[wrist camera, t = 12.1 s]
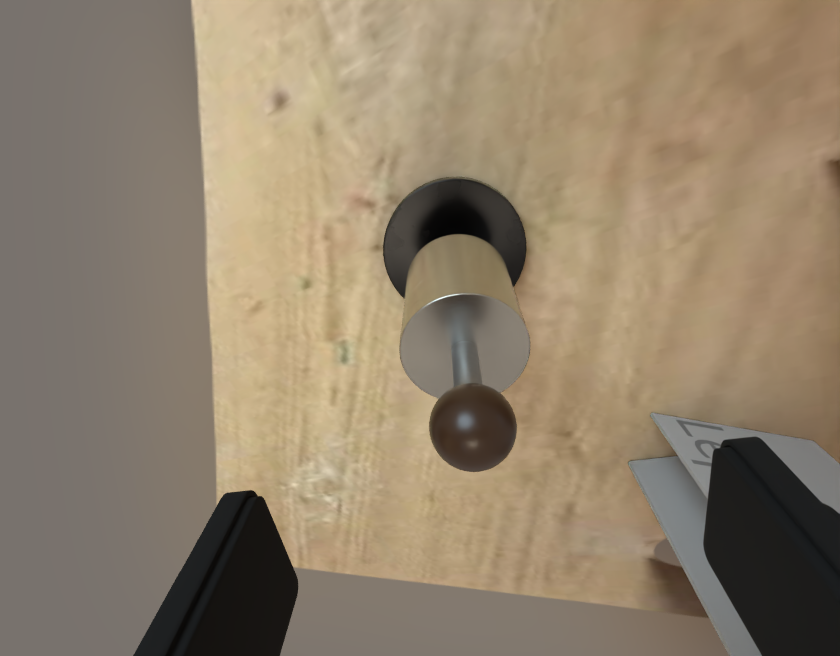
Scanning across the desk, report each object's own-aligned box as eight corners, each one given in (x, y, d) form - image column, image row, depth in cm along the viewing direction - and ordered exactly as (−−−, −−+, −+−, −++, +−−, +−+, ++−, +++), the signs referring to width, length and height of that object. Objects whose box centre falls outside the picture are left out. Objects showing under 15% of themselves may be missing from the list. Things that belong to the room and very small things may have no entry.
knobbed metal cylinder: (567, 508, 17) (563, 376, 14) (406, 524, 18) (369, 401, 15) (505, 298, 32) (497, 210, 29) (417, 310, 33) (400, 227, 30)
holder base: (529, 302, 36) (543, 332, 31) (399, 320, 37) (392, 353, 32) (517, 164, 32) (531, 174, 27) (371, 190, 33) (359, 204, 28)
